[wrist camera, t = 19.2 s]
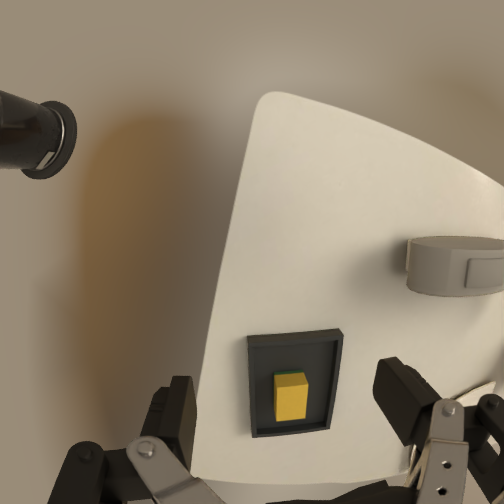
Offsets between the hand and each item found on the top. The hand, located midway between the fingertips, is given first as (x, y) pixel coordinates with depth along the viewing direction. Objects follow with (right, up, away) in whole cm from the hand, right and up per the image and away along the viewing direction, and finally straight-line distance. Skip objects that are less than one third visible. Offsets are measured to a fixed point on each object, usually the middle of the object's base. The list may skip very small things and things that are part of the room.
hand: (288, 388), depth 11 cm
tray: (+5, -15, +32) cm, 36 cm away
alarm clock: (+30, +5, +30) cm, 42 cm away
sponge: (+4, -16, +32) cm, 36 cm away
